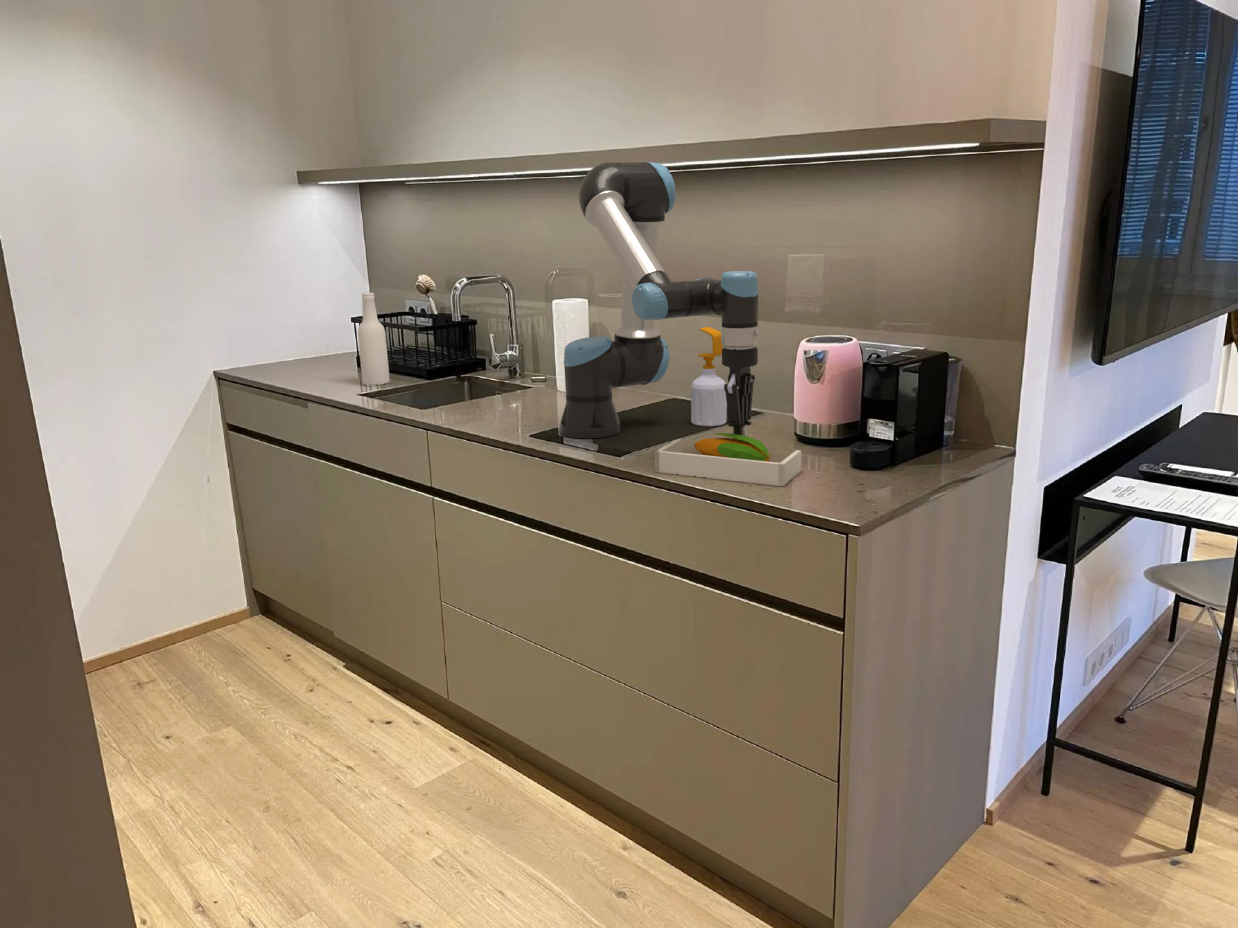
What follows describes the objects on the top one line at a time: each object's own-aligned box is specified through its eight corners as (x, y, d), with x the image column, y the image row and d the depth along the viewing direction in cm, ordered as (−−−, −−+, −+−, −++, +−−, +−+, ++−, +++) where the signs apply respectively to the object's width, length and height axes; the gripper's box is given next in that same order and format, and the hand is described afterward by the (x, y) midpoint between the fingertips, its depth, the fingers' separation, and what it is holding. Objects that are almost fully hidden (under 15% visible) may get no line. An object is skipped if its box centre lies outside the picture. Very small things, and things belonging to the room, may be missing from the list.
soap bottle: (704, 417, 247) (703, 324, 241) (733, 421, 241) (733, 326, 235) (684, 424, 240) (683, 328, 234) (713, 428, 235) (713, 330, 228)
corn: (756, 443, 187) (682, 429, 201) (755, 480, 189) (682, 463, 203) (778, 437, 192) (704, 424, 206) (777, 473, 194) (704, 457, 208)
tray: (655, 472, 197) (654, 451, 196) (678, 458, 207) (677, 438, 206) (782, 486, 185) (783, 464, 183) (800, 471, 195) (801, 450, 194)
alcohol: (370, 381, 315) (361, 292, 307) (394, 382, 313) (386, 291, 305) (358, 386, 307) (348, 294, 299) (382, 386, 305) (374, 294, 297)
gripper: (746, 351, 188) (746, 464, 194) (766, 342, 199) (766, 449, 205) (711, 350, 191) (712, 461, 197) (733, 341, 202) (733, 446, 208)
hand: (739, 455), depth 201 cm, fingers closed
